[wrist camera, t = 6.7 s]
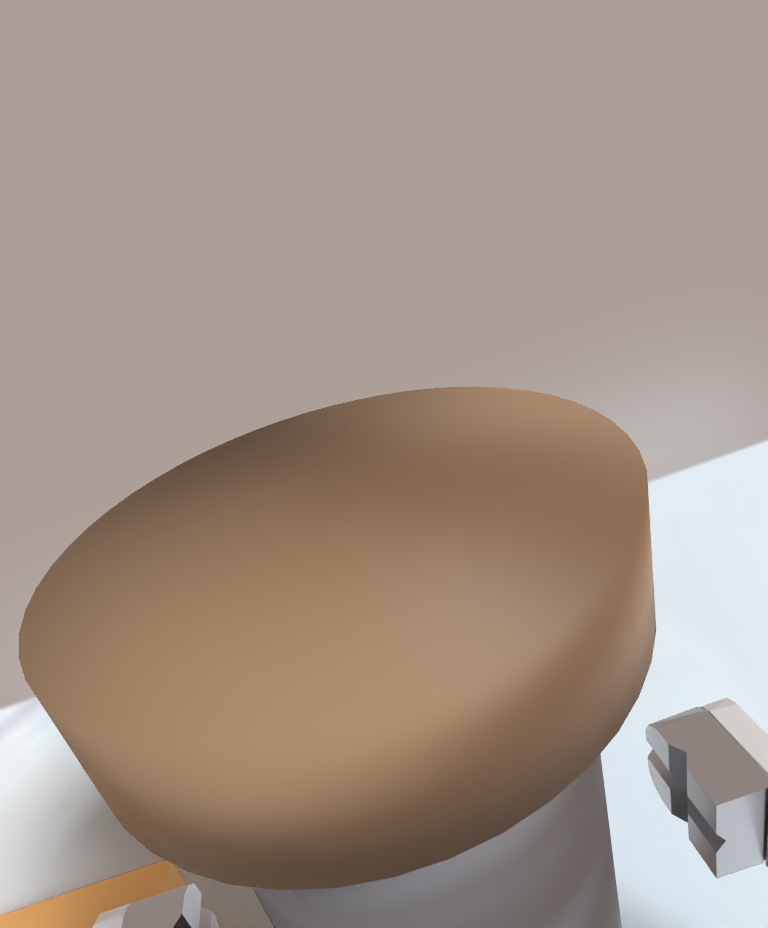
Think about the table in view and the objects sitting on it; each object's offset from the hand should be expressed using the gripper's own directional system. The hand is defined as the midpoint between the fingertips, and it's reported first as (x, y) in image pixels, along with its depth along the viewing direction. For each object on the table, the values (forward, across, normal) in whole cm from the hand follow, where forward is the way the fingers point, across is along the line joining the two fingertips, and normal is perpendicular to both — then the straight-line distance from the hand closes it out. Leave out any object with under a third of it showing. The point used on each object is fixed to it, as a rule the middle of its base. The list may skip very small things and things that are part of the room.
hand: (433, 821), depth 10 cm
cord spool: (-1, 0, +8) cm, 8 cm away
